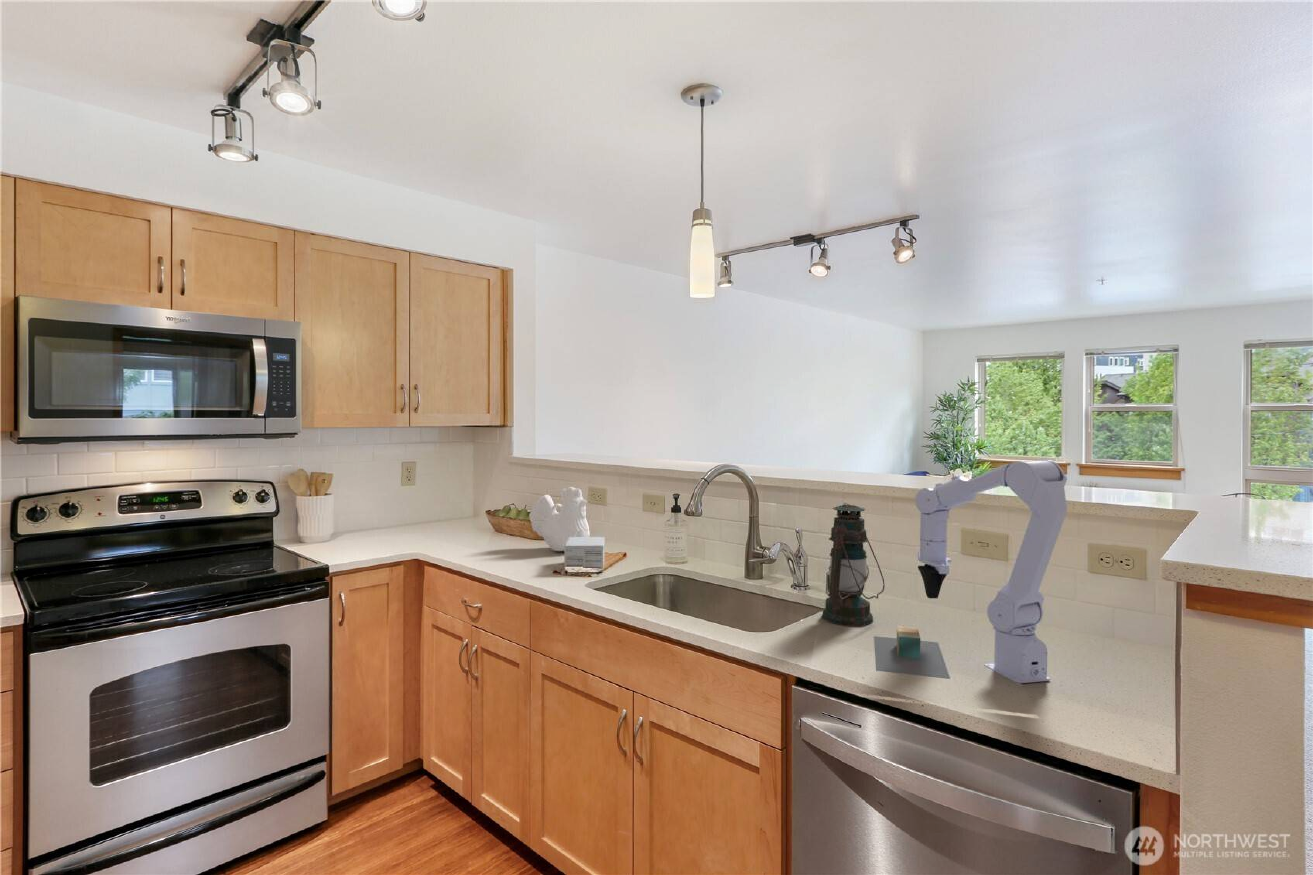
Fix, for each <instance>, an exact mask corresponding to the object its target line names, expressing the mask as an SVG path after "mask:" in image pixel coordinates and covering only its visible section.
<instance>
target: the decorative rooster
mask: <svg viewBox="0 0 1313 875" xmlns="http://www.w3.org/2000/svg"><path fill="white" fill-rule="evenodd" d="M560 497H561V499H562V503H555V504H554V501H553V499H552V497H551V496H550V495H549V494H544V495H543V496H540V497H539V498H538V500H536V501H535V502H534V503H533V504H532V507H531V512H530V513H529V514H528V516H529V521H530V522H531V528H532V530H533V531H534V532H536V534H537V535H538V536H539V537H543V539H544V541H545V543H546V545H547V546H548V547H549V548H550V549H551V550H553V552H565V545H566V543H567V540H568V537H591V536H590V535H591V532H590V526H589V523H588V520H587V517H586V516H587V511H586V510H587V507H586V505H587V503H588V501H587V500H586V499H585V498H583V492H582V489H580V488H578V487H577V488H575V487H574V486H568V487H566V488H562V490H561V491H560ZM557 508H559V512H558V511H557Z"/></svg>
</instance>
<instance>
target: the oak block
mask: <svg viewBox="0 0 1313 875" xmlns="http://www.w3.org/2000/svg"><path fill="white" fill-rule="evenodd" d="M896 638H897V651H898V656H899V657H909V658H918V659H920V641H921V635H920V632H919V628H918V627H913V626H900V625H897V626H896Z"/></svg>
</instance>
